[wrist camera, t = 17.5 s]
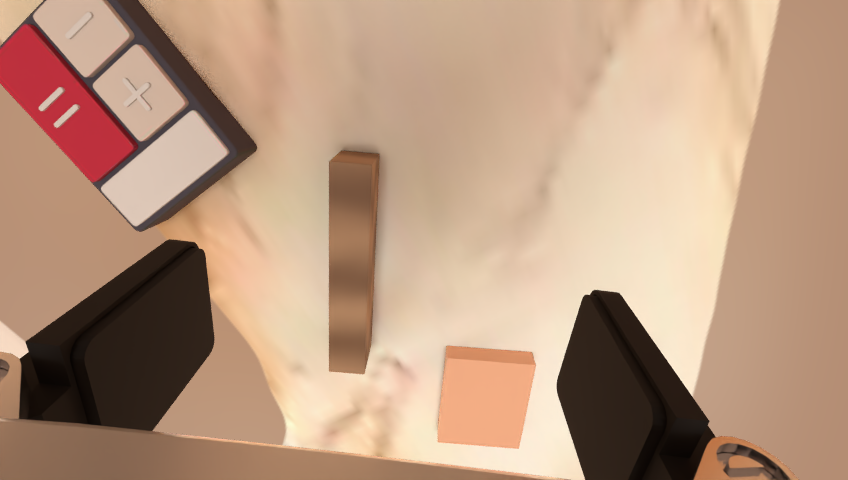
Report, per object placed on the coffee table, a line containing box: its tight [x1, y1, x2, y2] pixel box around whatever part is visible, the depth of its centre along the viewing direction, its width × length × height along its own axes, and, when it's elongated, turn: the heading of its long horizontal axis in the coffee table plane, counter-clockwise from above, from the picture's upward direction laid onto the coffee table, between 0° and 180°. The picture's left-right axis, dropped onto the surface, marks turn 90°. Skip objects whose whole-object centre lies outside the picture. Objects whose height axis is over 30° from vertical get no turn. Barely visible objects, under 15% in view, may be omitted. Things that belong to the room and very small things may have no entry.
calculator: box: [0, 0, 257, 232], centre depth 32 cm, size 11×4×15 cm
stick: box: [329, 151, 379, 374], centre depth 36 cm, size 18×3×4 cm, turn 175°
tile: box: [438, 346, 536, 449], centre depth 42 cm, size 2×8×10 cm
